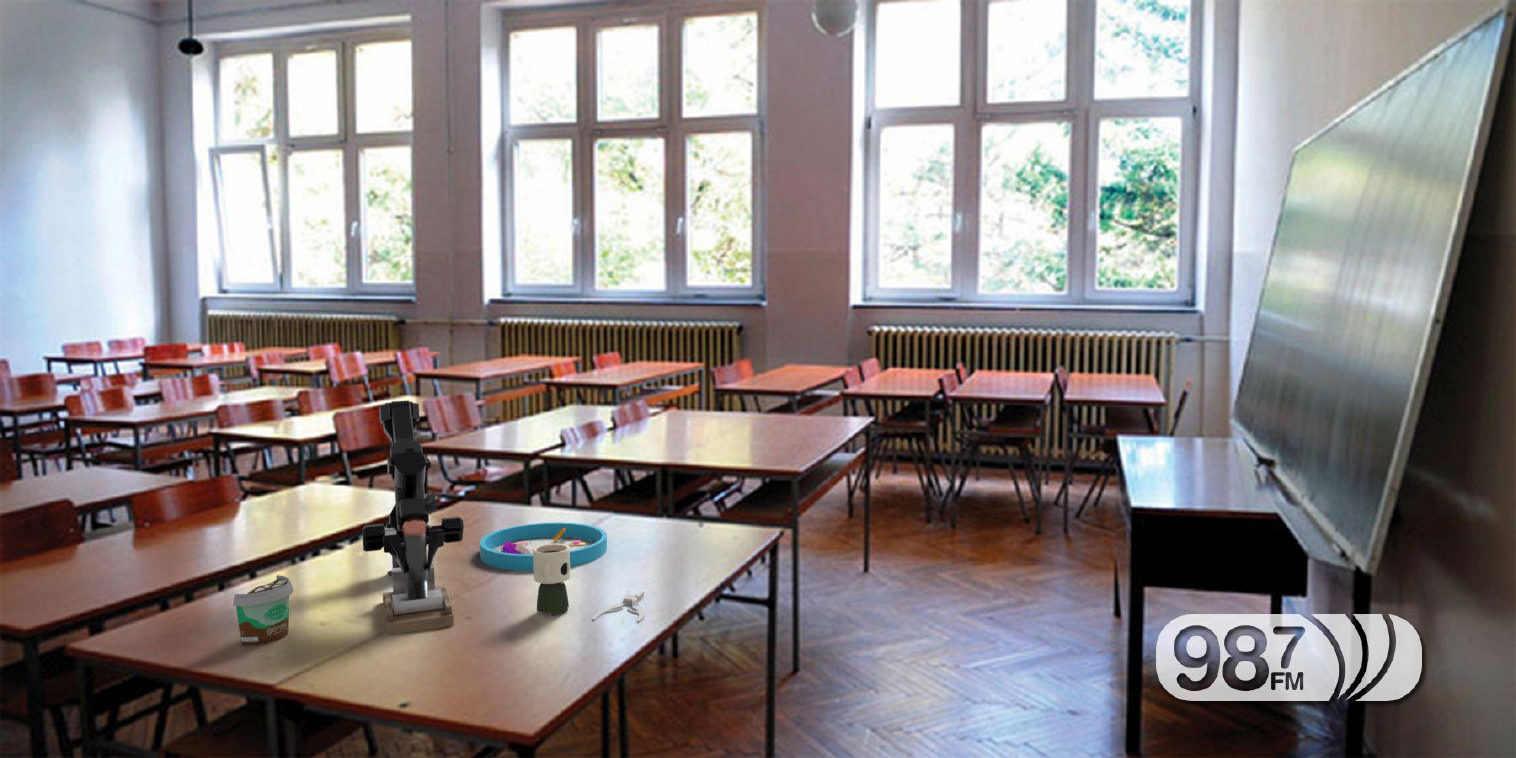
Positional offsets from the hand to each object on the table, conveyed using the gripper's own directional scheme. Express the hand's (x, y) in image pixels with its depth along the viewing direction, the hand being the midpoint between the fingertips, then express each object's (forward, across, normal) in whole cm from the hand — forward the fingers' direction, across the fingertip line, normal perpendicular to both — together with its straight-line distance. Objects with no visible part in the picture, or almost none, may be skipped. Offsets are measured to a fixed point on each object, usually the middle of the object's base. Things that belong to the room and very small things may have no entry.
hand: (416, 571), depth 190 cm
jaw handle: (+4, 0, +7) cm, 8 cm away
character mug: (+11, +25, +4) cm, 27 cm away
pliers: (+14, +39, +2) cm, 41 cm away
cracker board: (+3, 0, +11) cm, 11 cm away
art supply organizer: (-20, +32, +35) cm, 51 cm away
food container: (+6, -26, +9) cm, 28 cm away
